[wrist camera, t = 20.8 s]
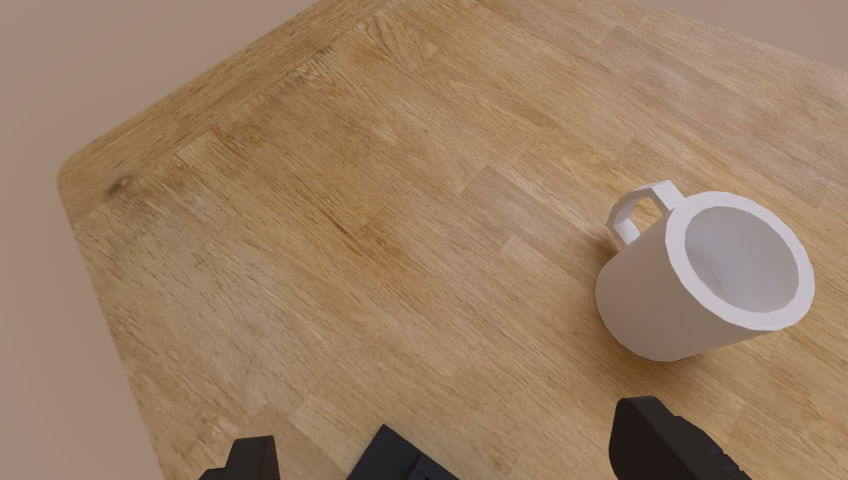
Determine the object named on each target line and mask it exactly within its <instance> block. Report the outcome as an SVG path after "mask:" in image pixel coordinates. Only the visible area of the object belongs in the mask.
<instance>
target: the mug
mask: <svg viewBox="0 0 848 480" xmlns="http://www.w3.org/2000/svg"><path fill="white" fill-rule="evenodd" d="M646 197H650V198H651V199H652V201H653V202H654V203H655V204H656V206H657V207H658V208H659V209H660V211H661V212H662V213H663V214H664V216H663V217H662V218H660V219H659V220H658V221H657V222H656V223H654V224H653V225H652V226H651V227H649V228H648V229H647V230H646V231H645V232H643V233H642V234H640V232H639V231H638V230H637V228H636V227H635V226H634V224H633V223H632V222H631V220H630V219H629V218H630V215H631V213H632V211H633V208H634V206H635V204H636V203H637V202H639V201H640V200H641V199H642V198H646ZM606 226H607V227H608V229H609V230H610V231H611V233H612V234H613V235H614V237H615V238H616V240H617V241H618V242H619V244H620V245H621V247H622V248H623V250H621V251H620V252H619V253H618V254H617V255H615V256H614V257H613V258H612V259H610V260H609V261H608V262H607V263H606V264H605V265H604V266H603V268H602V270H601V271H600V273H599V275H598V276H597V281H596V287H595V298H596V304H597V310H598V312H599V314H600V316H601V318H602V320H603V323H604V325H605V327H606V328H607V329H608V331H609V332H610V333H611V334H612V335H613V336H614V338H615V339H616V340H617V341H618V342H619V343H620V344H621V345H623V346H624V347H626V348H627V349H629V350H630V351H631V352H633V353H634V354H636V355H638V356H641V357H644V358H647V359H650V360H653V361H667V362H673V361H676V360H680V359H683V358H686V357H690V356H693V355H697V354H700V353H703V352H707V351H710V350H713V349H717V348H720V347H723V346H727V345H730V344H733V343H737V342H740V341H743V340H747V339H750V338H753V337H757V336H760V335H763V334H767V333H770V332H774V331H777V330H780V329H782V328H785V327H788V326H791V325H794V324H796V323H797V322H798V321H799V320H800V319H801V318H802V317H803V316H804V315H805V314H806V313H807V312H808V311H809V309H810V306H811V303H812V300H813V297H814V293H815V284H814V272H813V268H812V266H811V263H810V261H809V258H808V256H807V253H806V251H805V249H804V247H803V246H802V244H801V243H800V242H799V240H798V239H797V237H796V236H795V235H794V233H793V232H792V231H791V229H790V228H789V227H788V226H787V225H785V224H784V223H783V222H782V221H781V220H780V219H779V218H778V217H777V216H776V215H774V214H773V213H772V212H771V211H769V210H767V209H766V208H764V207H762V206H761V205H759V204H757V203H755V202H754V201H752V200H750V199H747V198H744V197H741V196H738V195H735V194H732V193H729V192H713V191H707V192H703V193H699V194H695V195H691V196H689V197H687V198H686V199H685V198H684V197H683V195H682V194H681V193H680V192H679V190H678V189H677V188H676V187H675V186H674V184H673V183H672V182H671V181H670V180H665V181H660V182H655V183H649V184H645V185H643V186H640V187H638V188H636V189H634V190H631V191H629V192H628V193H627V194H625V195H624V196H623V197H622V198H621V199H620V200H619V201H618V202H617V203H616V204H615V205H614V206H613V208H612V210H611V213H610V215H609V218H608V221H607V223H606Z"/></svg>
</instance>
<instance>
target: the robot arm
mask: <svg viewBox="0 0 848 480" xmlns="http://www.w3.org/2000/svg"><path fill="white" fill-rule="evenodd" d="M609 459H610V463H611V466H612V469H613V471H614V473H615V475H616V477H617V478H618V480H752V479H751V478H750V477H749V476H748V475H747V474H746V473H745V472H744V471H740V469H739V466H738V465H737V464H736V463H735V462H734V461H733V460H732V459H731V458H730V457H729V456H728V455H727V454H724V453H723V450H722V449H721V448H720V447H719V446H718V445H717V444H716V443H715V442H714V441H713V440H712V439H711V438H710V437H709V436H708V435H707V434H706V433H705V432H704V431H703V430H701V429H700V428H698V427H696V426H695V425H693V424H692V423H690V422H689V421H687V420H685V419H684V418H682V417H681V416H674V415H673V414H672V413H671V412H670V411H669V410H668V409H667V408H666V407H665V406H664V404H663V403H662V402H661V401H660V400H659V399H657V398H656V397H654V396H651V395H649V396H640V397H631V398H622V399H620V400H619V401H618V403H617V406H616V411H615V416H614V421H613V427H612V432H611V437H610V443H609ZM198 480H280V474H279V467H278V460H277V454H276V447H275V441H274V437H273V436H272V435H269V436H260V437H251V438H241V439H236V440H235V441H234V443H233V445H232V448H231V451H230V454H229V457H228V460H227V463H226V466H225V467H224V468H215V469H207V470H206V471H205V472H204V474H203V475H202V476H201V477H200V478H199V479H198Z"/></svg>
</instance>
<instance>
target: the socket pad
mask: <svg viewBox="0 0 848 480" xmlns="http://www.w3.org/2000/svg"><path fill="white" fill-rule="evenodd" d="M347 480H459V479H458V478H456V477H455V476H454V475H452V474H451V473H450V472H448V471H447V470H446V469H444V468H443V467H442V466H440V465H439V464H438V463H436V462H435V461H434V460H432V459H431V458H429V457H428V456H427V455H425V454H424V453H423V452H421V451H420V450H419V449H417V448H416V447H415V446H413V445H412V444H411V443H409V442H408V441H407V440H405V439H404V438H403V437H401V436H400V435H399V434H397V433H396V432H395V431H393V430H392V429H390V428H389V427H388V426H386V425H385V424H383V425H382V427H381V428H380V430H379V431H378V433H377V434H376V436H375V437H374V439H373V440H372V442H371V443H370V445H369V446H368V448H367V449H366V451H365V452H364V454H363V456H362V457H361V459H360V460H359V462H358V463H357V465H356V466H355V468H354V469H353V471H352V472H351V474H350V475H349V477H348V478H347Z"/></svg>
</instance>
